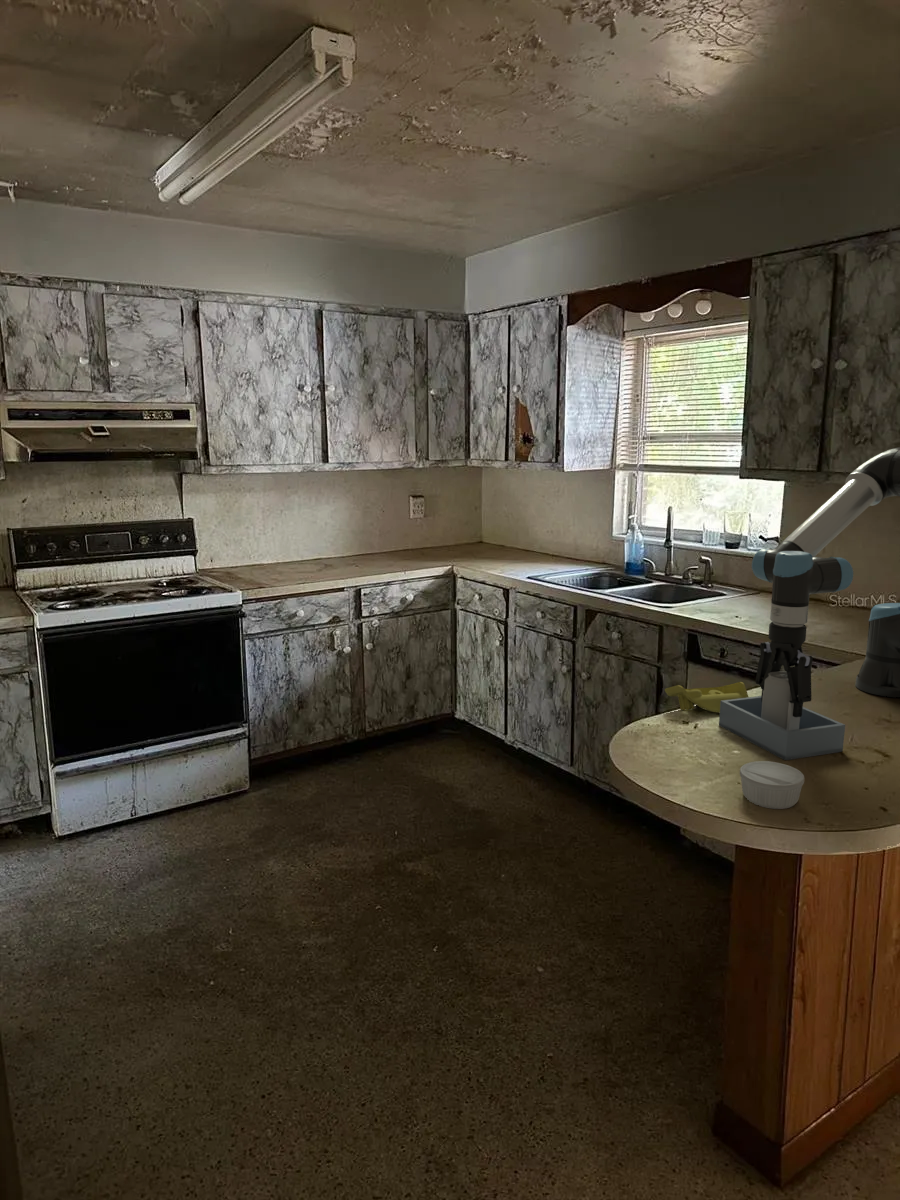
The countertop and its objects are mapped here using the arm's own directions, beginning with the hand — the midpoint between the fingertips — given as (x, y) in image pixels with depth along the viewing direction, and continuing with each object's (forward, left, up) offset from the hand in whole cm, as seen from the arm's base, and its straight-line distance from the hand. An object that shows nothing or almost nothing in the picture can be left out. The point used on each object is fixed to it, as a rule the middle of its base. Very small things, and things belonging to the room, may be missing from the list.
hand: (779, 723), depth 186 cm
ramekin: (+23, +25, -4) cm, 34 cm away
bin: (0, 0, -3) cm, 3 cm away
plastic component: (+3, -23, -4) cm, 24 cm away
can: (0, 0, -1) cm, 1 cm away
